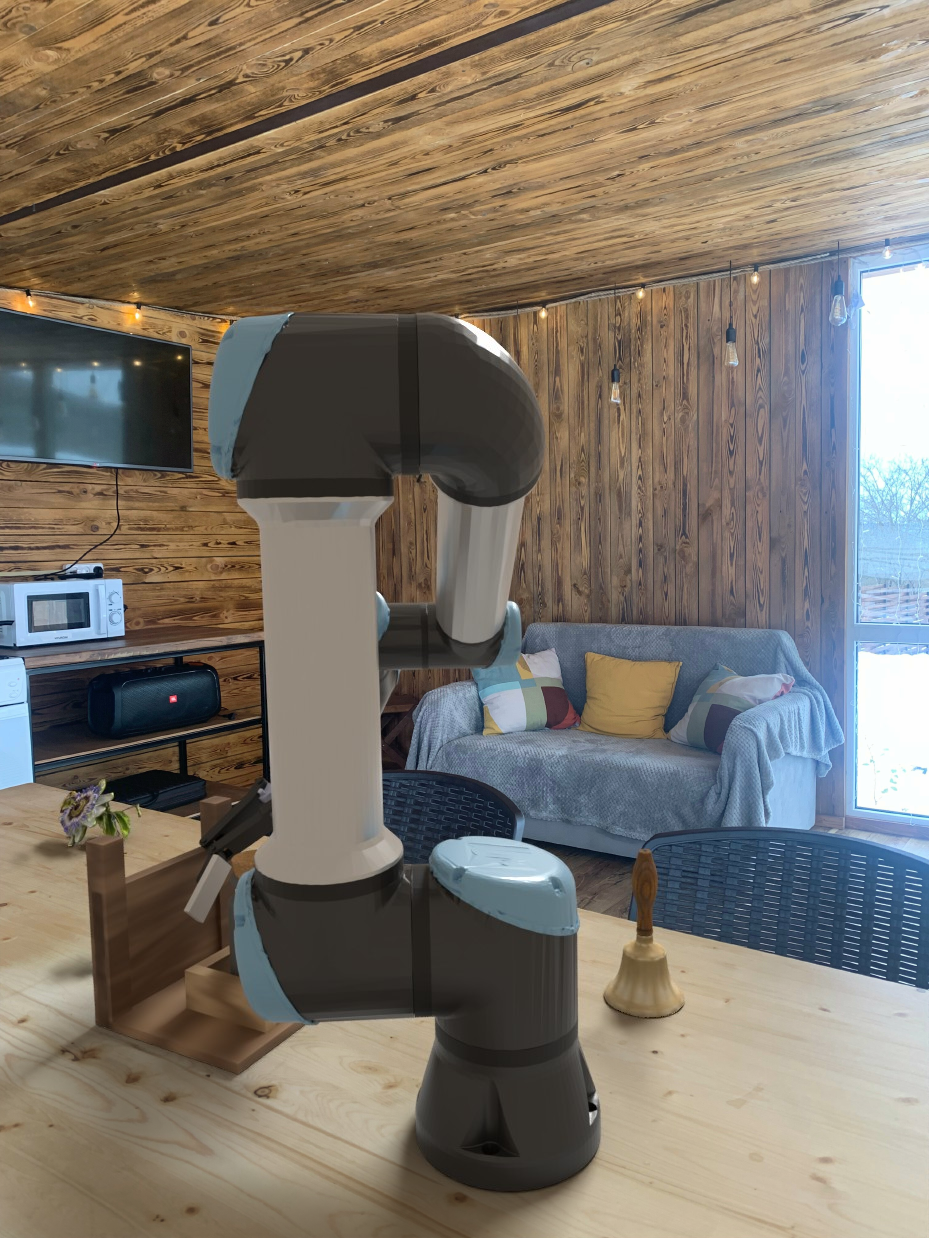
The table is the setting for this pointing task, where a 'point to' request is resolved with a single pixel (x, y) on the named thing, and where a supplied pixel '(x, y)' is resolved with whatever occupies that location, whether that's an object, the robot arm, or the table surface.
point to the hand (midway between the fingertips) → (242, 929)
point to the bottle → (240, 865)
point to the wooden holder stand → (170, 957)
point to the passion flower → (92, 814)
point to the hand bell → (644, 956)
